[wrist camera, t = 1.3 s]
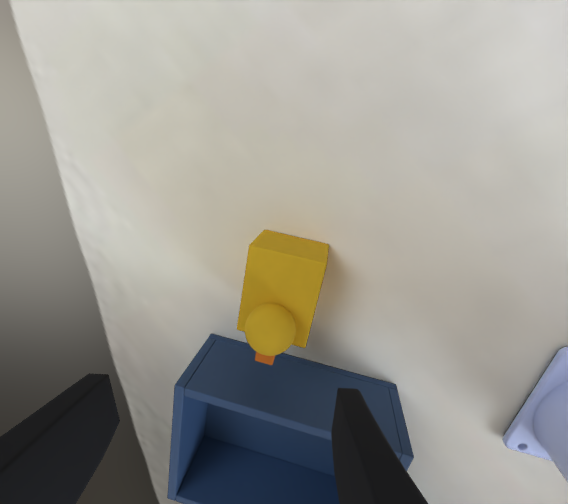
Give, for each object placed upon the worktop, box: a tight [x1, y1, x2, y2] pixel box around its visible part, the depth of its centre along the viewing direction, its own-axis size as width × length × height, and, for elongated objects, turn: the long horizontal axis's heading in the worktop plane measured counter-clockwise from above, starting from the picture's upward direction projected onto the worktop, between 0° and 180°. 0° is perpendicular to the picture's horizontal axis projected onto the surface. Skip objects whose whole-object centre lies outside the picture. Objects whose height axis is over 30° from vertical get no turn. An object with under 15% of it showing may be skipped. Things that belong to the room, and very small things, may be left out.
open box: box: [168, 334, 414, 504], centre depth 20 cm, size 13×10×5 cm
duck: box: [237, 230, 329, 365], centre depth 16 cm, size 4×6×6 cm
